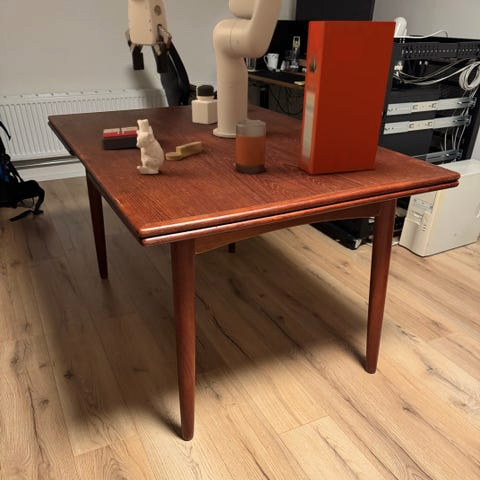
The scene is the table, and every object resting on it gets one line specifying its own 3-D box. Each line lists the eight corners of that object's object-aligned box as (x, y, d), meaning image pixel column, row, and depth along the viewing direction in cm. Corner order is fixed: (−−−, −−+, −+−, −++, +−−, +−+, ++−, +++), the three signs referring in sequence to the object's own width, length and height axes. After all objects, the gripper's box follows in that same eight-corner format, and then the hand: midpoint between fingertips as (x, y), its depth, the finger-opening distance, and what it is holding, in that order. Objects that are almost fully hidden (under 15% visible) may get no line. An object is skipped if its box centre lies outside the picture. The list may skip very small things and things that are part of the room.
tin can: (256, 164, 124) (257, 118, 118) (269, 171, 119) (271, 124, 113) (230, 168, 122) (230, 121, 115) (243, 175, 116) (244, 127, 110)
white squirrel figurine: (132, 169, 120) (127, 118, 113) (158, 166, 122) (154, 116, 116) (141, 178, 113) (135, 125, 107) (168, 175, 116) (164, 123, 109)
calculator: (102, 128, 143) (152, 124, 145) (104, 143, 145) (154, 138, 148) (101, 136, 134) (154, 131, 136) (104, 152, 136) (156, 147, 139)
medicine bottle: (219, 121, 172) (219, 84, 166) (208, 124, 167) (207, 87, 160) (203, 119, 175) (202, 83, 169) (192, 122, 170) (190, 85, 164)
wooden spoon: (194, 150, 137) (193, 140, 135) (205, 152, 135) (205, 143, 133) (162, 158, 129) (161, 148, 127) (173, 161, 126) (173, 151, 125)
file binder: (298, 166, 123) (309, 20, 106) (357, 161, 128) (377, 20, 110) (312, 175, 117) (325, 21, 99) (373, 169, 121) (397, 21, 104)
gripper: (179, -10, 111) (183, 73, 120) (134, -9, 120) (141, 68, 130) (154, -11, 106) (160, 75, 115) (109, -10, 116) (118, 69, 125)
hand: (150, 71), depth 123 cm, fingers open, 9 cm apart
